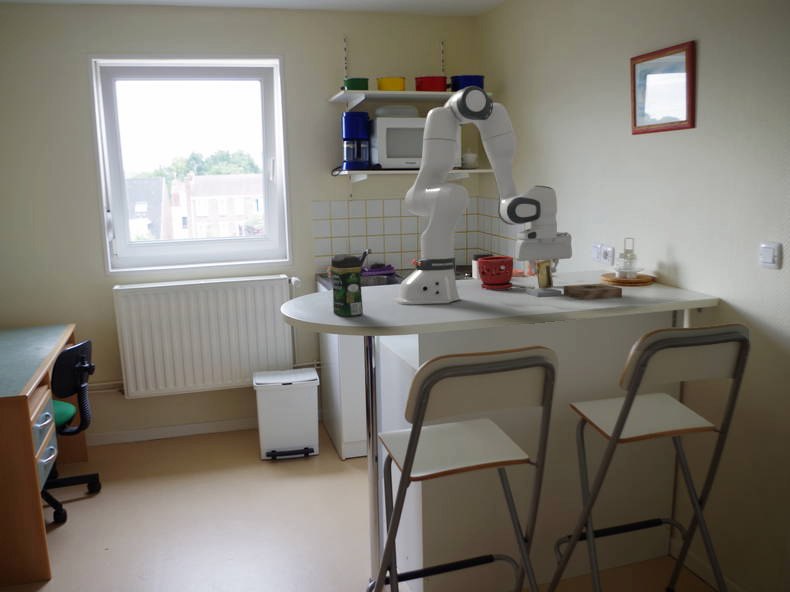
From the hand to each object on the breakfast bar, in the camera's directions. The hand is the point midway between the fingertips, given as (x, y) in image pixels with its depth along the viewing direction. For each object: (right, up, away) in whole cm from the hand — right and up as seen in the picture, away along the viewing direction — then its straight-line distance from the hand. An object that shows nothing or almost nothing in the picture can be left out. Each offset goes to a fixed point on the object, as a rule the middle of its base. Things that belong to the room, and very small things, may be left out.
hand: (543, 272), depth 236 cm
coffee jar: (-66, -14, -30) cm, 74 cm away
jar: (-16, -3, +36) cm, 40 cm away
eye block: (+15, -8, -6) cm, 18 cm away
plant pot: (-14, -6, +18) cm, 24 cm away
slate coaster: (0, -8, +1) cm, 8 cm away
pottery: (0, -2, +43) cm, 43 cm away
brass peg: (+1, -5, +1) cm, 5 cm away
